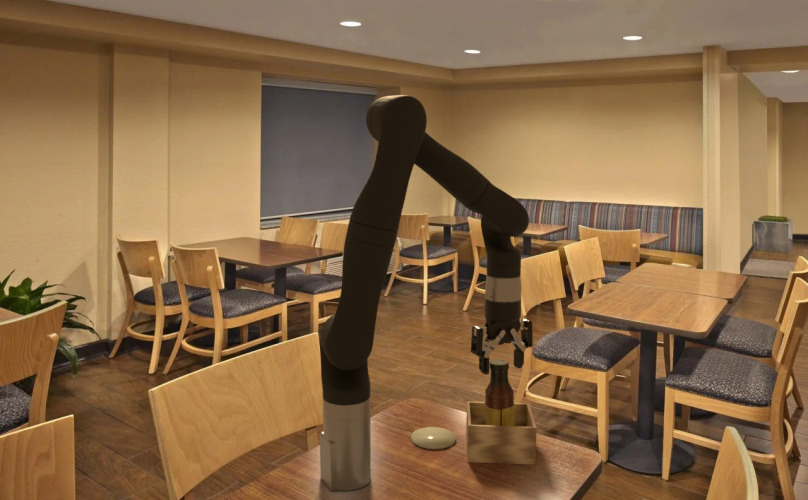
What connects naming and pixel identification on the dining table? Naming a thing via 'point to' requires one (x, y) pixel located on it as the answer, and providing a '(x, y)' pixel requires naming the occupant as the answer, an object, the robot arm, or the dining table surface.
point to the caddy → (501, 436)
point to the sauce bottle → (499, 396)
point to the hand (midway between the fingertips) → (501, 370)
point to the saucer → (433, 438)
